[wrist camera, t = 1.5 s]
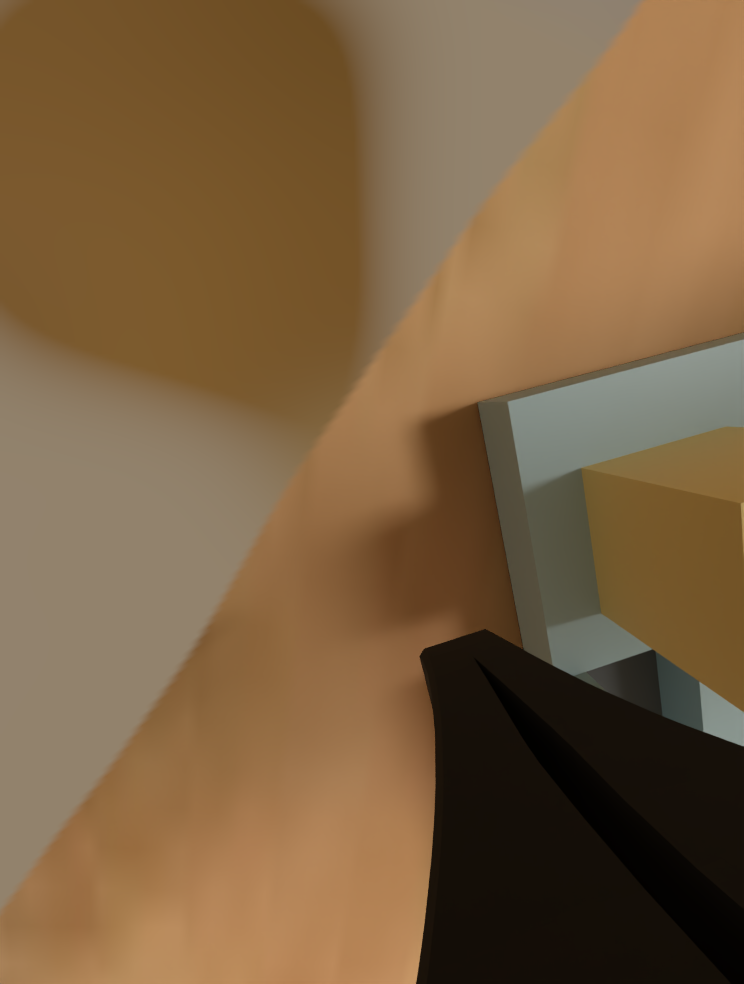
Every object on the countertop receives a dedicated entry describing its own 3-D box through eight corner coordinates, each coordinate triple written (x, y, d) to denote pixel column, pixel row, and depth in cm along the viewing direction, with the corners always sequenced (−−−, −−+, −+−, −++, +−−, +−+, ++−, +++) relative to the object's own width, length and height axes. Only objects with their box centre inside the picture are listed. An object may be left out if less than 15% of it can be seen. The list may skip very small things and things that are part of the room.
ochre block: (725, 426, 12) (954, 437, 8) (734, 570, 13) (941, 649, 9) (581, 467, 12) (740, 503, 8) (601, 613, 13) (752, 718, 9)
